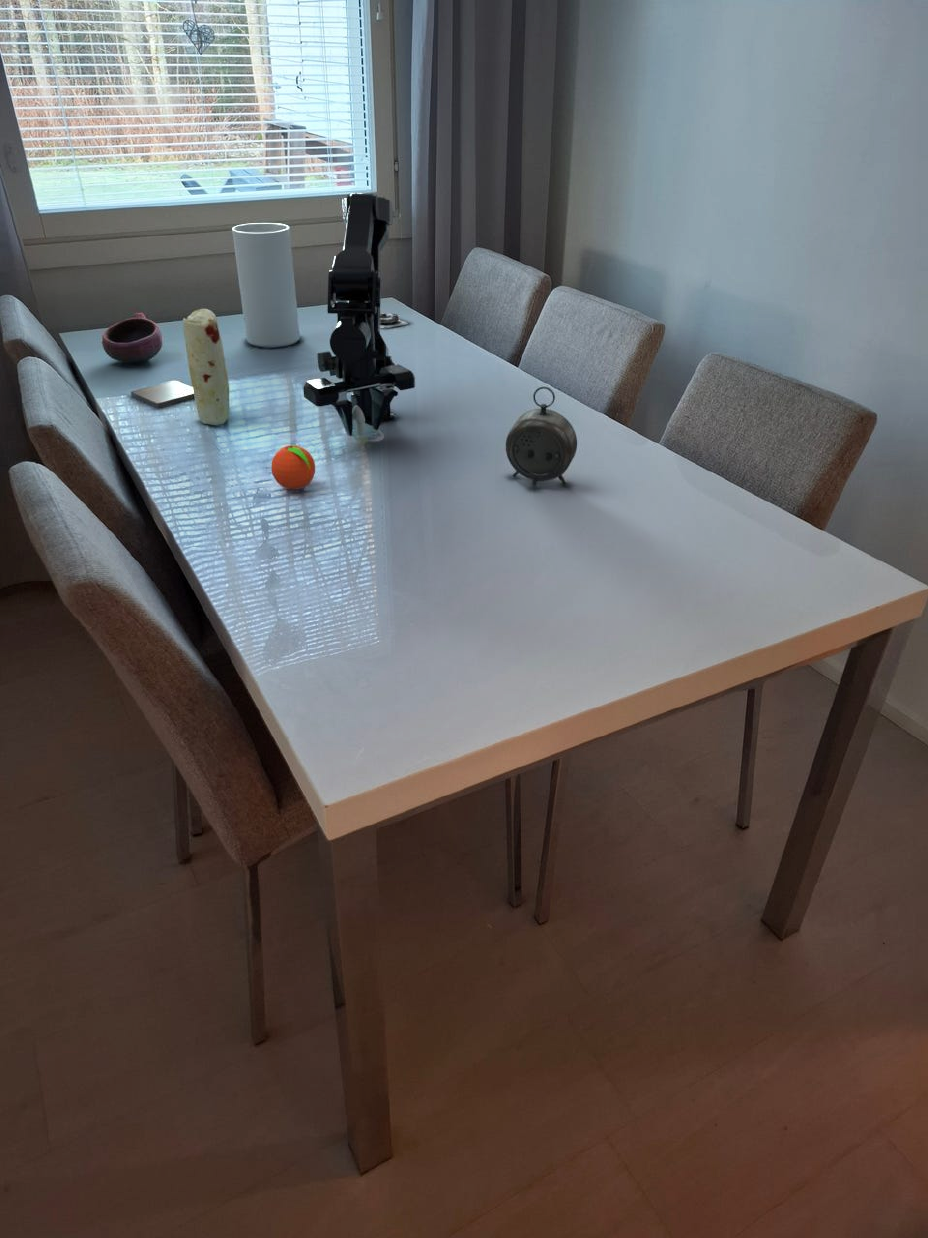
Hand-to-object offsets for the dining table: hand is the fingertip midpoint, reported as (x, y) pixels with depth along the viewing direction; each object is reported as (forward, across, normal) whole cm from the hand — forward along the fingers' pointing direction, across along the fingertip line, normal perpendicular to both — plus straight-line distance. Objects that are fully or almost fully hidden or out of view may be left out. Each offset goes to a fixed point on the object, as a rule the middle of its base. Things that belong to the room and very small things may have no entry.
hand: (362, 432), depth 153 cm
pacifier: (+1, -1, 0) cm, 2 cm away
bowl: (+3, +21, -72) cm, 75 cm away
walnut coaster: (+3, +22, -44) cm, 49 cm away
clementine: (+3, +17, +10) cm, 20 cm away
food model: (+3, +18, -26) cm, 32 cm away
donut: (+3, -42, -69) cm, 81 cm away
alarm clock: (+3, -17, +29) cm, 34 cm away
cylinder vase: (+3, -11, -69) cm, 70 cm away
